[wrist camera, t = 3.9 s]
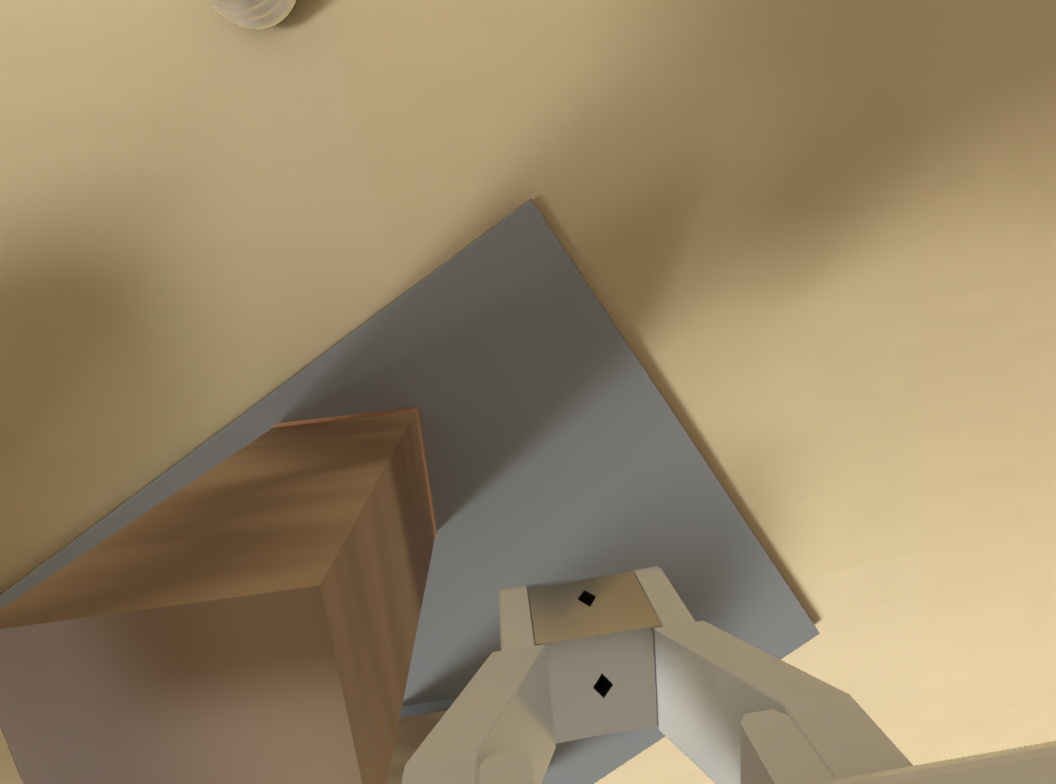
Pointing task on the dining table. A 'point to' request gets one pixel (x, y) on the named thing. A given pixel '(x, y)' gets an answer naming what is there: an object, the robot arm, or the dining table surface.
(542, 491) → the rubber mat
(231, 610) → the walnut block
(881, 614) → the dining table surface
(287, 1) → the lightbulb
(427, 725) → the maple block
